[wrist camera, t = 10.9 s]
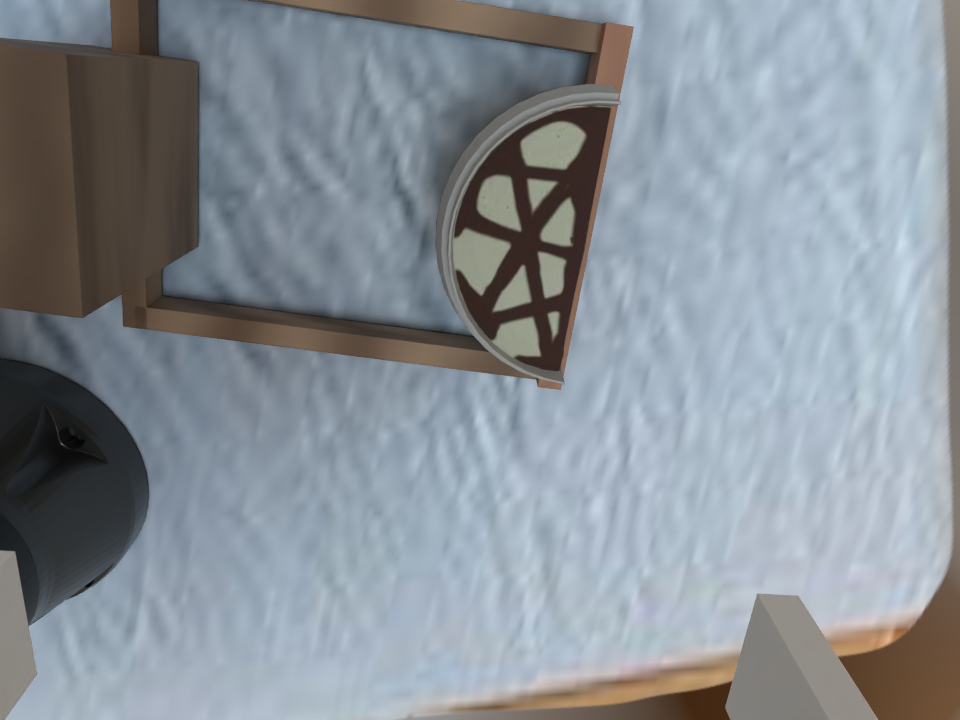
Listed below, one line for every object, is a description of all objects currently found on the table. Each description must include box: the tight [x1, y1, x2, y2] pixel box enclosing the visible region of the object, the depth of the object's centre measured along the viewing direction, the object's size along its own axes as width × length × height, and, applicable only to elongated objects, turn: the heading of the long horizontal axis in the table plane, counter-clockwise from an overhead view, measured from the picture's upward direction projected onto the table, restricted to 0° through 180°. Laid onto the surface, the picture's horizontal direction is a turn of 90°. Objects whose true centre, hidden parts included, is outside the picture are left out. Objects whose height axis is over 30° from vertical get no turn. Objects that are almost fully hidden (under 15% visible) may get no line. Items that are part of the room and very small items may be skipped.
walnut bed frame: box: [0, 0, 634, 390], centre depth 31 cm, size 25×17×12 cm
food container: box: [436, 84, 621, 384], centre depth 33 cm, size 12×6×10 cm, turn 172°
